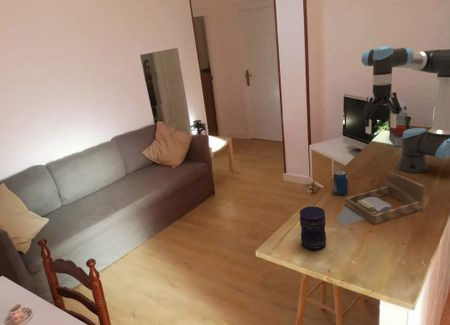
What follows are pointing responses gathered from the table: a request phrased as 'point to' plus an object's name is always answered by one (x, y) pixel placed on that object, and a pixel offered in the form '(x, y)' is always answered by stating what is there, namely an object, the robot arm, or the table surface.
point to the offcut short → (366, 205)
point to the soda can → (340, 182)
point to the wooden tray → (395, 187)
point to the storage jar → (313, 228)
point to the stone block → (378, 204)
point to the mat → (348, 217)
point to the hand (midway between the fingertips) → (380, 130)
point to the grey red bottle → (398, 126)
